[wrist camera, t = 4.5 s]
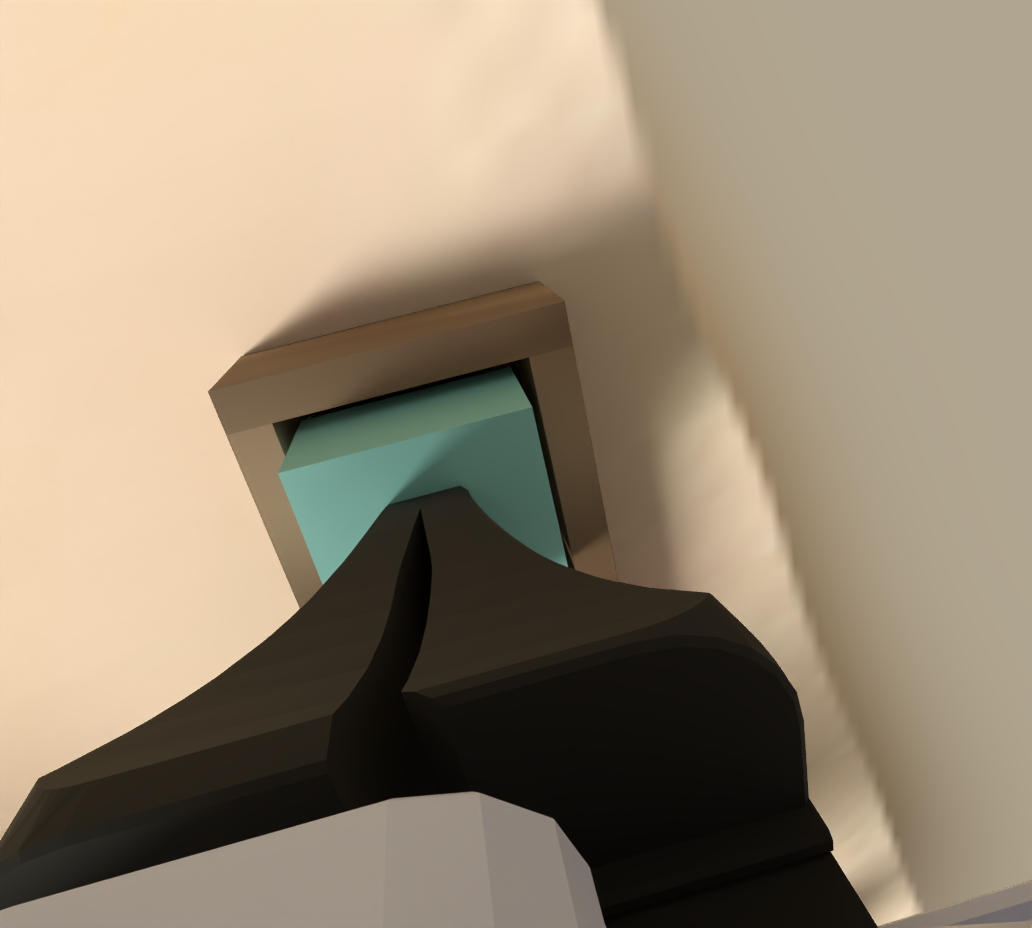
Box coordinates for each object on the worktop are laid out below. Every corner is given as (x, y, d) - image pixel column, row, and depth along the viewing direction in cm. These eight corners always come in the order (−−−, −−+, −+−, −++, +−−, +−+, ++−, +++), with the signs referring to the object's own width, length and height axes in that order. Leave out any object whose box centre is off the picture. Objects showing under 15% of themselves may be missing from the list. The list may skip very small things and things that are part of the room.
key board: (624, 700, 19) (654, 772, 16) (401, 762, 18) (400, 846, 16) (538, 281, 14) (564, 301, 12) (241, 356, 14) (207, 391, 12)
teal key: (552, 545, 15) (578, 614, 12) (366, 596, 14) (358, 675, 12) (510, 367, 13) (532, 407, 11) (301, 420, 13) (277, 473, 10)
